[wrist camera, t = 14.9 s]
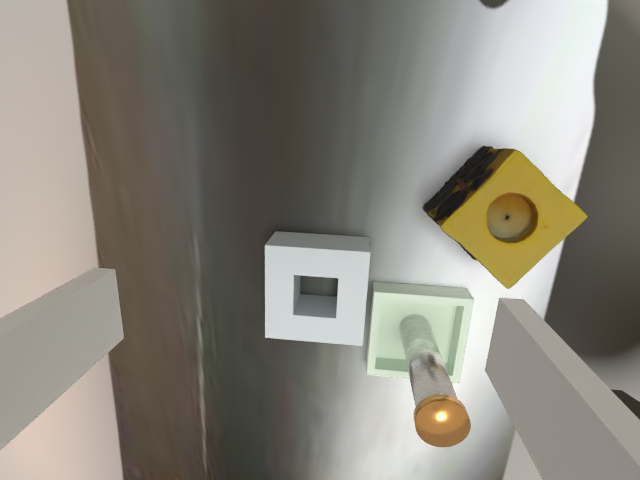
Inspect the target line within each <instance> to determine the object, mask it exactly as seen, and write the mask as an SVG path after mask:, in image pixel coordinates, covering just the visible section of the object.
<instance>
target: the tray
mask: <svg viewBox="0 0 640 480" xmlns="http://www.w3.org/2000/svg"><path fill="white" fill-rule="evenodd" d="M473 303H474V299H473V297H472V296H471V294H470V293H469V291H468V290H467V288H457V287H443V286H429V285H416V284H402V283H388V282H375V281H373V286H372V298H371V309H370V320H369V332H368V343H367V355H366V371H367V375H374V376H385V377H396V378H407V379H410V377H409V372H408V367H407V362H406V358H405V353H404V348H403V343H402V339H401V334H400V323H401V321H402V320H403V319H404V318H405V317H407V316H409V315H413V314H417V315H421V316H423V317H425V318H426V319H427V320H428V322H429V324H430V326H431V329H432V332H433V335H434V337H435V340H436V343H437V345H438V348H439V351H440V354H441V356H442V359H443V362H444V364H445V367H446V370H447V373H448V375H449V378H450V381H451V383H460V377H461V371H462V365H463V360H464V354H465V348H466V343H467V337H468V331H469V325H470V320H471V314H472V308H473Z"/></svg>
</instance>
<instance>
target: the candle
mask: <svg viewBox="0 0 640 480" xmlns="http://www.w3.org/2000/svg"><path fill="white" fill-rule="evenodd" d="M423 209H424V211H425V212H426V213H427V214H428V216H429V217H431V218H432V219H433V220H434V221H435V222H436V223H437V224H438V225H439V226H440V228H441V229H442V230H443V232H445V233H446V234H447V235H449V237H451V238H452V239H454V240H455V241H457V242H458V243H459V244H460V245H461V247H462V248H463V249H464V250H465V251H466V252H467V253H468V254H469V255H470V256H471V257H472V258H473V259H474V260H478V261H479V262H480V263H481V264H482V265H483V266H484V267H485V268H486V269H487V270H488V271H489V272H490V273H491V274H492V275H493V276H494V277H495V278H496V279H497V280H498V281H499V282H500V283H501V284H502V285H504V286H505V287H506V288H507V289H509V288H511V287H512V286H513V285H514V284H516V283H517V282H518V281H519V280H520V279H521V278H522V277H523V276H524V275H525V274H526V273H527V272H528V271H529V270H530V269H532V268H533V267H534V266H535V265H536V264H537V263H538V262H539V261H540V260H541V259H542V258H543V257H544V256H545V255H546V254H547V253H548V252H549V251H551V250H552V249H553V248H554V247H555V246H556V245H557V244H558V243H559V242H561V241H562V240H563V239H564V238H565V237H566V236H567V235H568V234H570V233H571V232H572V231H573V230H574V229H576V228H577V227H578V226H579V225H580V224H581V223H582V222H583V221H584V220H585V219H586V218H587V215H586V214H585V213H584V212H583V211H582V210H581V209H580V208H579V207H578V206H577V205H576V204H575V203H574V202H573V201H572V200H570V199H569V198H568V197H567V196H565V195H564V194H563V193H562V192H561V191H560V190H558V189H557V188H556V187H555V186H554V185H553V184H552V183H551V182H550V181H549V180H548V179H547V178H546V177H545V176H544V175H543V173H542V172H541V171H540V170H539V169H538V168H537V167H536V166H534V165H533V164H532V163H531V162H530V161H529V160H528V159H527V158H526V157H525V156H524V155H523V154H522V153H521V152H520V151H518V150H515V149H500V150H499V149H494V148H493V147H486V146H483V147H482V148H481V149H479V150H478V151H477V152H476V153H475V154H474V155H473V157H472V158H470V159H468V160H467V161H466V163H465V164H464V166H463V167H461V168H460V170H459V171H457V172H456V174H455V175H454V176H452V177H451V178H450V180H449V181H448V182H446V183H445V185H444V186H443V187H442V189H441V190H440V191H439V192H438V193H436V195H435V196H434V197H433V198H432V199H431V200H430V201H429V202H427V203H426V204H425V205H424V208H423Z"/></svg>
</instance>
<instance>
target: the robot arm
mask: <svg viewBox="0 0 640 480" xmlns="http://www.w3.org/2000/svg"><path fill="white" fill-rule="evenodd" d="M123 338H124V335H123V327H122V320H121V312H120V304H119V296H118V289H117V281H116V273H115V269H104V268H93V269H91V270H89V271H87V272H86V273H84V274H82V275H80V276H78V277H77V278H74V279H73V280H71V281H69V282H67V283H65V284H63V285H61V286H60V287H58V288H56V289H54V290H52V291H50V292H49V293H47V294H45V295H43V296H41V297H40V298H38V299H36V300H34V301H32V302H30V303H28V304H26V305H24V306H23V307H21V308H19V309H17V310H15V311H13V312H11V313H10V314H8V315H6V316H4V317H2V318H0V450H1V449H2V448H4V447H5V446H6V445H7V444H8V443H9V442H10V441H11V440H12V439H13V438H15V437H16V436H17V435H18V434H19V433H20V432H21V431H22V430H23V429H24V428H25V427H27V426H28V425H29V424H30V423H31V422H32V421H33V420H34V419H35V418H37V417H38V416H39V415H40V414H41V413H42V412H43V411H44V410H45V409H46V408H48V407H49V406H50V405H51V404H52V403H53V402H54V401H55V400H56V399H57V398H59V397H60V396H61V395H62V394H63V393H64V392H65V391H66V390H67V389H68V388H69V387H71V386H72V385H73V384H74V383H75V382H76V381H77V380H78V379H79V378H80V377H82V376H83V375H84V374H85V373H86V372H87V371H88V370H89V369H90V368H91V367H93V366H94V365H95V364H96V363H97V362H98V361H99V360H100V359H101V358H102V357H104V355H106V354H107V353H108V352H109V351H110V350H111V349H112V348H114V347H115V346H116V345H117V344H118V343H119V342H120V341H121V340H122V339H123ZM485 371H486V373H487V375H488V377H489V379H490V380H491V382H492V384H493V386H494V388H495V390H496V392H497V394H498V396H499V398H500V399H501V401H502V403H503V405H504V407H505V409H506V411H507V413H508V415H509V417H510V418H511V420H512V422H513V424H514V426H515V428H516V430H517V432H518V434H519V436H520V437H521V439H522V441H523V443H524V445H525V447H526V449H527V451H528V452H529V454H530V456H531V458H532V460H533V462H534V464H535V466H536V468H537V470H538V471H539V473H540V475H541V477H542V479H543V480H640V402H639V401H637V400H636V399H634V398H633V397H631V396H629V395H628V394H626V393H625V392H623V391H621V390H611V389H609V388H608V387H607V385H606V384H605V383H604V382H603V381H602V380H601V379H600V378H599V377H598V376H597V375H596V374H595V373H594V372H593V371H592V370H591V369H590V368H589V367H588V366H587V365H586V364H585V363H584V362H583V361H582V360H581V359H580V358H579V356H578V355H577V354H576V353H575V352H573V350H572V349H571V348H570V347H569V346H568V345H567V344H566V343H565V342H564V341H563V340H562V339H561V338H560V337H559V336H558V335H557V334H556V333H555V332H554V331H553V330H552V328H550V326H549V325H548V324H547V323H546V322H545V321H544V320H543V319H542V318H541V317H540V316H539V315H538V314H537V313H536V312H535V311H534V310H533V309H532V308H531V307H530V306H529V305H528V304H527V303H526V301H525V300H522V299H508V298H499V302H498V307H497V312H496V317H495V322H494V327H493V333H492V338H491V343H490V348H489V353H488V358H487V363H486V368H485Z"/></svg>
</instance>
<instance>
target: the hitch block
mask: <svg viewBox="0 0 640 480" xmlns="http://www.w3.org/2000/svg"><path fill="white" fill-rule="evenodd" d="M369 264H370V244H369V237H358V236H342V235H326V234H311V233H295V232H279V231H276V232H275V233H274V234H273V235H272V237H271V238H270V239H269V241H268V242H267V243H266V244H265V338H276V339H288V340H299V341H311V342H323V343H334V344H346V345H357V346H363V336H364V324H365V312H366V300H367V288H368V276H369ZM301 276H315V277H328V278H338V295H337V297H334V296H321V295H308V294H300V279H301Z"/></svg>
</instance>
